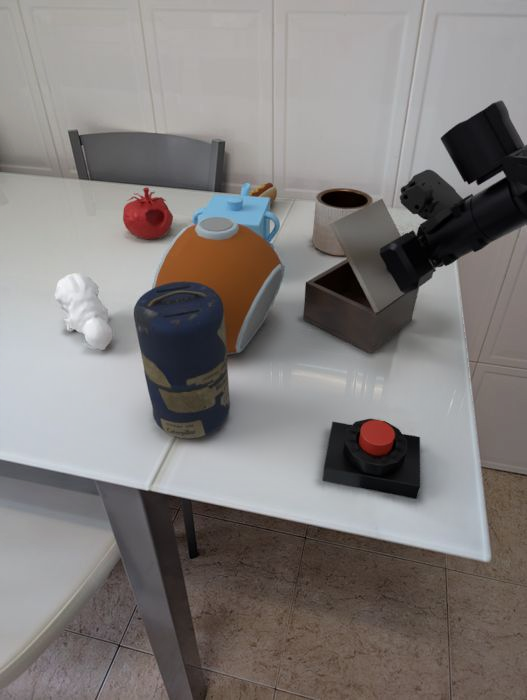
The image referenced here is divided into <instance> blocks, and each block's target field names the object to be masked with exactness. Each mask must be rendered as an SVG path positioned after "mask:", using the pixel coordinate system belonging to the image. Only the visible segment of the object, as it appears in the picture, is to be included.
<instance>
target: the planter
mask: <svg viewBox="0 0 527 700" xmlns="http://www.w3.org/2000/svg"><path fill="white" fill-rule="evenodd" d="M372 203H374V199H373V197H372V196H371V195H370V194H368V193H367V192H365V191H362V190H359V189H353V188H346V187H337V188H328V189H325V190H322V191H320V192H318V193H317V194H316V196H315V204H314V216H313V228H312V244H313V246H314V247H315V248H316V249H317V250H319V251H320V252H323V253H324V254H328V255H332V256H340V257H346V256H345V254H344V252H343V250H342V248H341V246H340V244H339V242H338V240H337V238H336V236H335V234H334V232H333V230H332V228H331V226H330V224H331V223H333V222H335V221H337V220H339V219H341V218H343V217H345V216H347V215H349V214H351V213H353V212H355V211H357V210H360V209H362V208H364V207H366V206H368V205H370V204H372Z"/></svg>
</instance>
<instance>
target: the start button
mask: <svg viewBox="0 0 527 700" xmlns="http://www.w3.org/2000/svg"><path fill="white" fill-rule="evenodd" d="M379 420H380V419H376V420H371V421H367V422H366V423H364V424H363V425H362V427H361V430H360V436H359V445H360V447H361V448H362V449H363V450H364V451H365V452H367V453H368V454H371V455H374V456H382V455H386V454H387V453H389V452H390V451H391V449H392V446H393V442H394V438H395V432H394V430H393V428H392V427H391V426H390V425H389V424H387V423H385V422H383V421H384V420H382V421H379Z"/></svg>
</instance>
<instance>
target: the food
mask: <svg viewBox="0 0 527 700" xmlns="http://www.w3.org/2000/svg"><path fill="white" fill-rule="evenodd" d="M277 191H278V190H277V187H276V186H275V185H274V184H273V183H271V182H267V183H263V184H260V185H259V186H258V187H256V188H254V189H252V190H250V196H252V197H269V198H270V206H271V205H272V204H273V203H274V202H275V200H276V199H277V196H278V195H277V194H278V192H277Z"/></svg>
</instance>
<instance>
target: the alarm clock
mask: <svg viewBox="0 0 527 700" xmlns="http://www.w3.org/2000/svg"><path fill="white" fill-rule="evenodd" d="M284 277H285V266H284V265H283V264H282V262H281V259H280V257H279V255H278V253H277V251H275V248H274V249H273V248H272V247H271V246H270V245H269V243H268V242H267V241H266V240H265V239H264V238H262V237H261V236H259V235H258V234H256V233H255V232H254V231H252V230H251V229H249V228H248V227H246V226H244V225H241V224H238V223H236V222H235V220H233V219H230V218H227V217H210V218H205V219H203V220H201V221H199V222H198V224H193V223H192V224H189V225H187V226H186V227H183V228H182V230H181V231H180V232H178V234H177V235H176V236H174V238H173V239H172V241H171V242H170V244H169V245H168V247H167V248H166V250H165V251H164V253H163V256H162V258H161V260H160V262H159V264H158V266H157V269H156V271H155V275H154V278H153V282H152V287H151V289H153V288H155V287H157V286H160V285H164V284H167V283H172V282H183V281H185V282H195V283H200V284H202V285H205V286H208V287H210V288H211V289H213V290H214V291H215V292H216V293H217V294H218V295H219V297H220V298H221V300H222V303H223V308H224V318H225V331H226V346H227V356H229V355H233V354H239V353H242V352H243V351H244V349H245V348H246V347H247V346H248V344H249V343H250V341H251V340H252V339H253V338H254V336H255V335H256V334H257V332H258V330H259V329H260V328H261V327H262V325H263V323H264V322H265V320H266V318H267V317H268V315H269V312H270V311H271V309H272V307H273V305H274V302H275V300H276V299H277V296H278V293H279V291H280V289H281V285H282V282H283V280H284Z"/></svg>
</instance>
